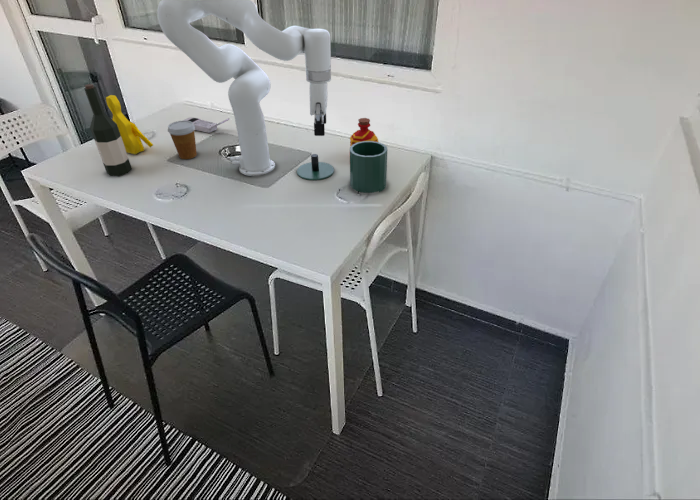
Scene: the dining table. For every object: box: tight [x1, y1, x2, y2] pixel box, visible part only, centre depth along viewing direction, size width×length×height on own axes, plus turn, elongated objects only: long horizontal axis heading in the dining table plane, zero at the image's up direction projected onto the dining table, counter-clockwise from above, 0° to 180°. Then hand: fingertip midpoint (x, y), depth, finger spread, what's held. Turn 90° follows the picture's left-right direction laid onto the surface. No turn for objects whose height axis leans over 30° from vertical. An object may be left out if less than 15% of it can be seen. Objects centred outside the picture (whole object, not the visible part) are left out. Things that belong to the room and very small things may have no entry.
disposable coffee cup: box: [167, 120, 198, 160], centre depth 166 cm, size 10×10×12 cm
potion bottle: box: [349, 117, 379, 147], centre depth 160 cm, size 10×10×15 cm
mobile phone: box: [182, 117, 230, 134], centre depth 188 cm, size 6×6×25 cm
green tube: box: [349, 141, 388, 194], centre depth 146 cm, size 12×12×13 cm
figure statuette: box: [105, 94, 154, 155], centre depth 167 cm, size 18×8×22 cm, turn 66°
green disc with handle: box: [296, 153, 335, 181], centre depth 155 cm, size 13×13×7 cm
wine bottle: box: [83, 83, 133, 177], centre depth 152 cm, size 8×8×30 cm
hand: (320, 129), depth 146 cm, fingers open, 9 cm apart
